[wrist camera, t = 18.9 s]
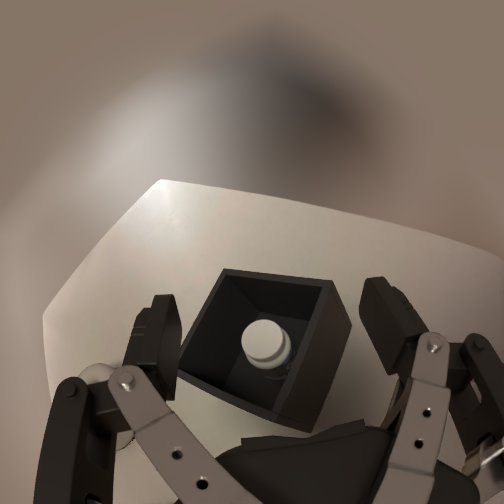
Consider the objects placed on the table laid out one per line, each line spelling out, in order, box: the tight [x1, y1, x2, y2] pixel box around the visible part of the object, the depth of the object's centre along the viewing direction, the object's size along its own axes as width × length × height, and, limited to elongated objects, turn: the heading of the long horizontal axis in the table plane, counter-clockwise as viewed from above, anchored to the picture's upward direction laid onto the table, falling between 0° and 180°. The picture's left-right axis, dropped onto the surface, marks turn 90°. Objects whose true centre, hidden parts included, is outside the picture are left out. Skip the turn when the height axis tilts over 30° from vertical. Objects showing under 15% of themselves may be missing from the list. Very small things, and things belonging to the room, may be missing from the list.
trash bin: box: [177, 268, 352, 433], centre depth 30 cm, size 14×14×10 cm
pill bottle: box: [241, 320, 297, 380], centre depth 29 cm, size 5×5×8 cm
